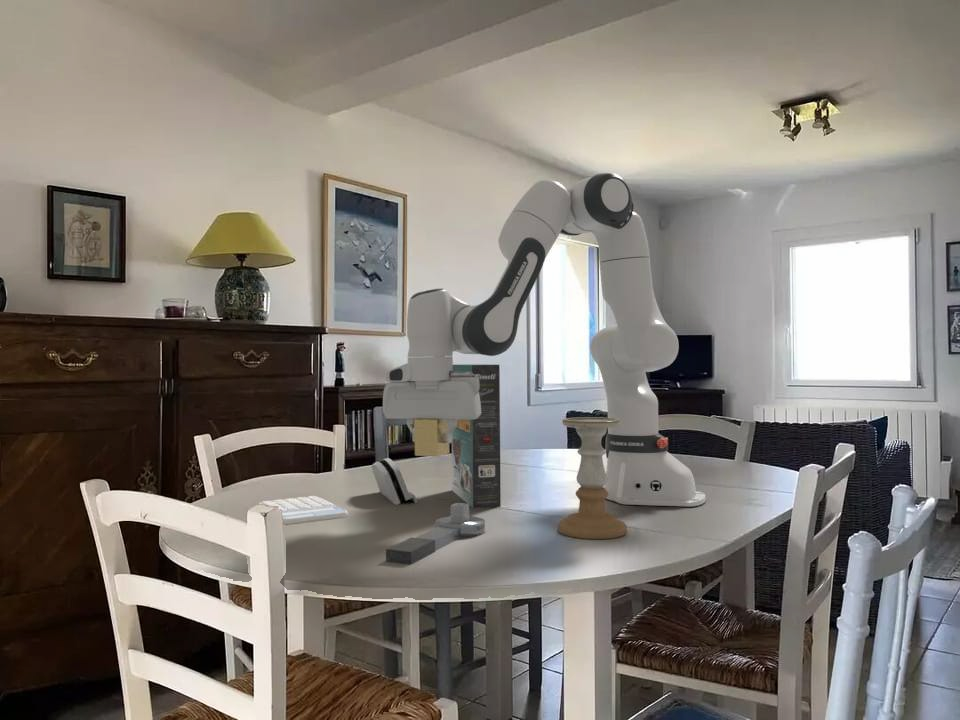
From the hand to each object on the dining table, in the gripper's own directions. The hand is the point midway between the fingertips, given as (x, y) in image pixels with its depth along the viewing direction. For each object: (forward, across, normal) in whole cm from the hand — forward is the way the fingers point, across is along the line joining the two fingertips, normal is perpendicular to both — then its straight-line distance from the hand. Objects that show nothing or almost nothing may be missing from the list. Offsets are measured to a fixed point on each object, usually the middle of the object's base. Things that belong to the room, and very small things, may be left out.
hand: (432, 442), depth 144 cm
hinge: (+15, +19, -16) cm, 29 cm away
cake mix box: (+15, +1, -23) cm, 27 cm away
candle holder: (+15, -32, -1) cm, 35 cm away
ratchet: (+15, -10, +17) cm, 25 cm away
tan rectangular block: (+2, 0, 0) cm, 2 cm away
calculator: (+15, +28, +4) cm, 33 cm away
